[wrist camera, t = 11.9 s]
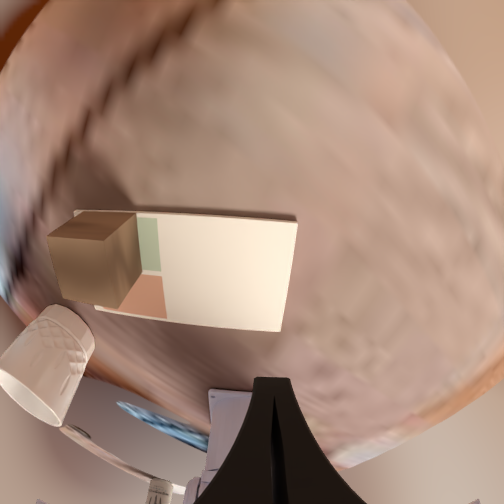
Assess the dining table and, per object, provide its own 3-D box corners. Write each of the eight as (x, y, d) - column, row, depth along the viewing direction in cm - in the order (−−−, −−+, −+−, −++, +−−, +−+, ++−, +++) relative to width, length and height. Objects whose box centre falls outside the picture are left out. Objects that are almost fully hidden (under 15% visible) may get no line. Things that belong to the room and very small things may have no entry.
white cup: (33, 311, 22) (-14, 371, 14) (61, 287, 21) (1, 360, 12) (77, 361, 25) (43, 425, 16) (114, 347, 24) (75, 427, 15)
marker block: (142, 271, 19) (117, 309, 15) (92, 265, 19) (62, 298, 15) (136, 212, 17) (103, 240, 13) (83, 211, 17) (46, 236, 13)
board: (279, 328, 21) (280, 331, 21) (97, 307, 21) (95, 309, 21) (297, 221, 17) (297, 223, 17) (76, 209, 17) (73, 211, 17)
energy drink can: (170, 480, 47) (162, 528, 34) (176, 485, 50) (168, 529, 36) (148, 475, 47) (138, 521, 34) (154, 481, 50) (146, 524, 36)
